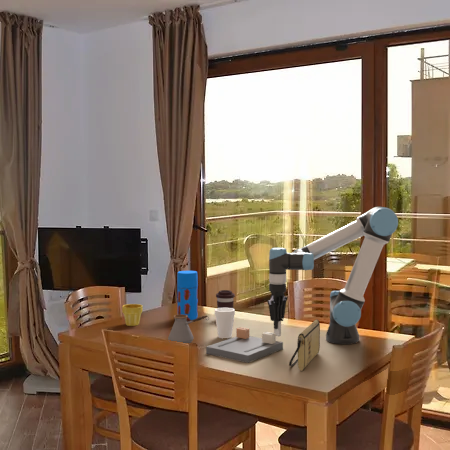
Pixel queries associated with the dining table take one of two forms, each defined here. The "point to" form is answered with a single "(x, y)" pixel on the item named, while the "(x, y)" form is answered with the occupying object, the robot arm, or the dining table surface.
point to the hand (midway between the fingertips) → (277, 335)
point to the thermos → (187, 294)
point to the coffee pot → (182, 329)
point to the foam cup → (224, 321)
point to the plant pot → (132, 314)
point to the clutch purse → (307, 345)
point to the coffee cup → (225, 299)
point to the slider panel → (243, 348)
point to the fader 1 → (242, 333)
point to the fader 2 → (269, 337)
